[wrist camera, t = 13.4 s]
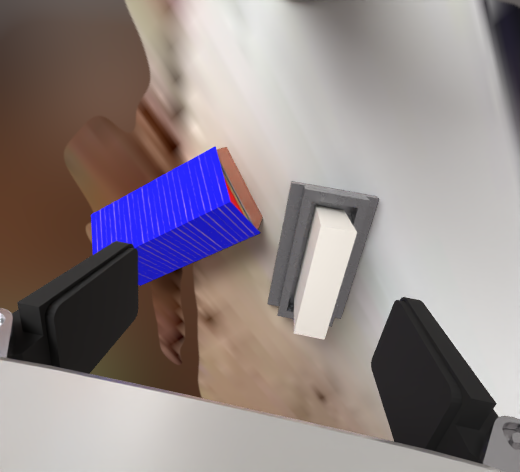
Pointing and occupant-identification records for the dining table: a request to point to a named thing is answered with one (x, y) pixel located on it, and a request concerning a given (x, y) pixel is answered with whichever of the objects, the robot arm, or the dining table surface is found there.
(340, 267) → the white block
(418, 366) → the robot arm
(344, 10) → the dining table surface
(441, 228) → the dining table surface
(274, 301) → the grey holder tray
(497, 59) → the dining table surface
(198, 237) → the blue shipping container
